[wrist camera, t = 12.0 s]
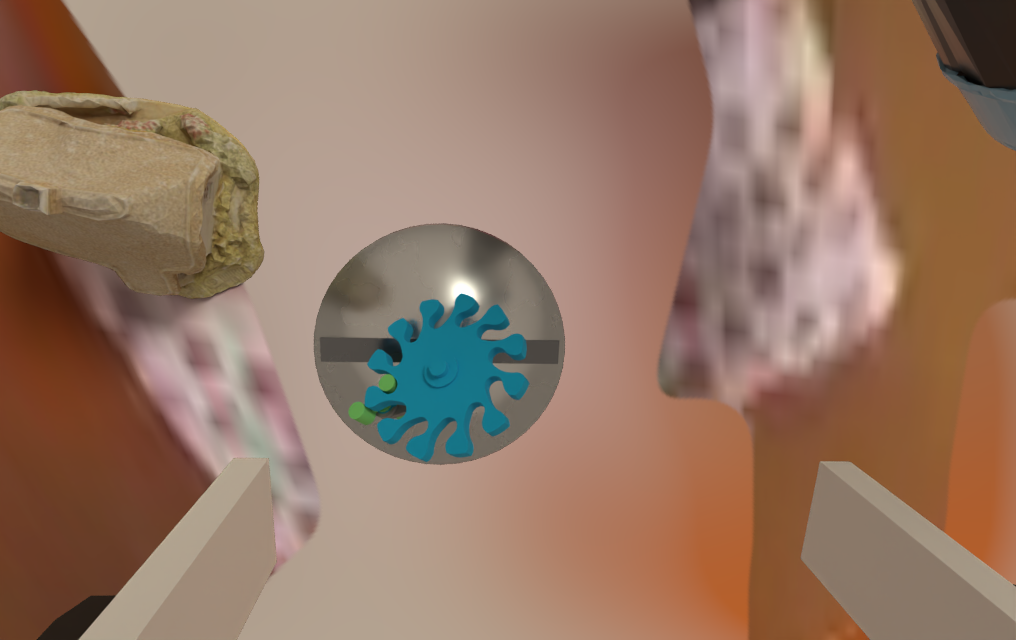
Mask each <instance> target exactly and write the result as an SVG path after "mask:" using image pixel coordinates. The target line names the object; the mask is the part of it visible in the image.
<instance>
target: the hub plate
mask: <svg viewBox="0 0 1016 640" xmlns="http://www.w3.org/2000/svg"><path fill="white" fill-rule="evenodd" d="M461 293H463V294H467V295H469V296H471V297H473V298H474V299H475V300H476V301H477V303H478V304H479V305H480V308H479V310H478V312H477V313H476V314H475V315H473V316H471V317H468V318H466V319H464V320H463V321H462V322H461V324H460V327H466V326H468V325H471V324H473V323H475V322H477V321H478V320H480V319H481V318H482V317H483V316H484V315H485V314H486V312H487V310H488V309H489V308H490V307H492V306H493V305H497V304H498V305H499V306H500V307H501V309H502V310H503V312H504V313H505V315H506V316H507V318H508V320H509V323H510V325H509V326H508V327H507V328H506V329H504V330H487V331H485V332H484V333H483V335H482V338H481V340H486V341H498V340H502V339H505V338H507V337H509V336H510V335H512V334H521V335H523V337H524V338H525V340H526V345H527V353H526V357H525V359H523V360H514V359H512V358H511V357H510V356H509V355H507V354H506V353H498V354H496V355H495V356H494V358H493V365H494V366H495V367H496V368H498V369H500V370H502V371H505V372H510V373H514V372H518V373H521V374H523V375H524V376H525V377H526V379H527V380H528V381H529V383H530V384H529V386H528V388H527V390H526V392H525V394H524V395H523V397H522V398H521V399H520V400H515V399H513V398H511V397H510V396H509V395H508V394H507V392H506V391H505V390H504V387H503V383H502V381H496V382H494V383H493V384H492V385H491V386H490V390H489V391H490V396H491V400H492V403H493V405H494V406H495V408H496V409H497V410H499V411H501V412H502V413H503V414H504V415H505V416H506V417H507V418H508V420H509V422H510V427H508V428H507V429H506V430H505V431H503V432H502V433H500V434H498V435H496V436H493V437H492V436H491V435H489V434H488V433H487V432H486V431H485V430H484V429H483V427H482V419H483V416H484V412H485V408H484V407H483V406H480V407H477V408H476V409H475V410H474V411H473V413H472V417H471V420H470V425H469V433H470V438H471V441H472V443H473V446H474V451H473V454H472V456H469V457H461V458H460V457H454V456H451V455H450V454H448V453H446V449H445V446H446V442H447V440H448V439H449V437H450V436H451V435H452V434H453V433H454V432H455V431H456V428H457V422H456V421H453V422H450V423H449V424H448V425H447V426H446V427H445V428H444V429H443V430H442V432H441V433H440V434H439V436H438V438H437V440H436V443H435V447H434V453H433V456H432V458H431V459H430V460H429V461H428V462H425V461H423V460H420V459H418V458H416V457H414V456H413V455H411V454H410V453H409V452H408V451H407V450H406V446H407V443H408V442H409V441H410V439H412V438H413V437H416V436H419V435H421V434H423V433H425V431H426V430H427V428H428V421H424V422H421V423H418V424H416V425H414V426H412V427H411V428H409V429H408V430H407V431H406V432H405V433H404V434H403V436H402V437H401V439H400V440H399V441H398V442H397V443H395V444H388V443H386V442H384V441H383V440H382V438H381V436H380V434H379V432H378V428H377V424H378V423H379V422H380V421H381V420H382V418H380V417H378V416H376V417H375V419H374V421H373V422H372V423H371V424H369V425H364V424H362V423H360V422H358V421H356V420H354V419H352V418H351V417H350V416H349V413H348V411H349V408H350V406H351V405H352V404H353V403H355V402H361V403H363V404H365V394H366V391H367V388H368V387H370V386H377V387H379V381H380V379H381V378H382V377H383V376H384V375H386V374H378V373H376V372H375V371H373V370H372V369H370V368H369V367H368V365H367V363H368V362H369V360H370V358H371V356H372V355H373V354H374V352H375V351H376V350H377V349H381V350H383V351H384V352H386V353H387V354H388V355H390V356H391V358H392V360H393V366H396V365H398V364H399V363H400V362H401V361H402V358H403V355H402V349H401V346H400V344H399V342H398V341H397V340H396V339H394V338H393V337H392V336H391V335H390V334H389V332H388V327H389V326H390V325H391V324H392V323H394V322H395V321H397V320H399V319H401V318H404V319H405V320H406V321H407V322H409V323H410V324H411V325H412V327H413V334H412V336H411V339H410V343H412V342H414V341H416V340H417V339H418V337H419V335H420V332H421V329H422V324H423V319H422V314H421V312H420V309H419V308H420V304H421V302H422V301H426V300H431V299H436V300H439V302H440V303H441V304H442V305H443V306H444V314H443V316H442V317H441V318H440V319H439V320H438V321H437V322H436V324H435V326H434V329H436V328H439V327H441V326H442V325H443V324H444V323H445V322H446V321H447V319H448V318H449V317H450V315H451V314H452V312H453V309H454V305H455V299H456V298H457V296H458V295H459V294H461ZM564 354H565V336H564V329H563V322H562V318H561V315H560V311H559V307H558V305H557V302H556V300H555V298H554V295H553V293H552V291H551V289H550V288H549V286H548V285H547V283H546V281H545V280H544V278H543V277H542V276H541V274H540V273H539V272H538V271H537V269H536V268H535V267H534V266H533V265H532V264H531V263H530V262H529V261H528V260H527V259H526V258H525V257H524V256H523V255H522V254H521V253H520V252H519V251H517V250H516V249H514V248H513V247H512V246H510V245H509V244H508V243H506V242H504V241H502V240H501V239H499V238H497V237H495V236H493V235H491V234H488V233H486V232H483V231H480V230H478V229H474V228H470V227H466V226H462V225H453V224H425V225H419V226H413V227H409V228H405V229H402V230H399V231H396V232H393V233H391V234H389V235H387V236H384V237H382V238H380V239H378V240H377V241H375V242H374V243H372V244H370V245H369V246H367V247H366V248H364V249H363V250H361V251H360V252H359V253H358V254H357V255H355V256H354V257H353V258H352V259H351V260H350V261H349V262H348V263H347V264H346V265H345V266H344V267H343V268H342V269H341V271H340V272H339V273H338V274H337V276H336V277H335V279H334V280H333V282H332V283H331V285H330V286H329V288H328V290H327V292H326V294H325V296H324V298H323V300H322V303H321V306H320V309H319V312H318V315H317V320H316V326H315V332H314V355H315V364H316V369H317V372H318V376H319V380H320V383H321V385H322V387H323V390H324V392H325V395H326V397H327V399H328V400H329V402H330V404H331V405H332V407H333V409H334V410H335V411H336V413H337V414H338V415H339V417H340V418H341V419H342V421H343V422H344V423H345V424H346V425H347V426H348V427H349V428H350V429H351V430H352V431H353V432H354V433H355V434H357V435H358V436H359V437H361V438H362V439H363V440H364V441H366V442H367V443H369V444H370V445H372V446H374V447H376V448H377V449H379V450H381V451H383V452H385V453H388V454H390V455H392V456H394V457H398V458H401V459H404V460H408V461H412V462H418V463H424V464H440V465H441V464H456V463H461V462H467V461H472V460H475V459H478V458H482V457H485V456H487V455H490V454H492V453H494V452H496V451H498V450H501V449H502V448H504V447H505V446H507V445H509V444H511V443H512V442H513V441H515V440H516V439H517V438H519V437H520V436H521V435H522V434H524V433H525V432H526V431H527V430H528V429H529V428H530V427H531V426H532V425H533V424H534V423H535V422H536V421H537V420H538V418H539V417H540V416H541V414H542V413H543V412H544V410H545V409H546V407H547V405H548V404H549V402H550V400H551V399H552V397H553V395H554V392H555V390H556V388H557V385H558V383H559V379H560V375H561V372H562V368H563V362H564ZM395 419H397V418H395Z"/></svg>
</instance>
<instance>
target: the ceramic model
mask: <svg viewBox="0 0 1016 640" xmlns="http://www.w3.org/2000/svg"><path fill="white" fill-rule="evenodd" d="M258 193H259V173H258V169H257V166H256V164H255V160H254V159H253V158H252V157H251V156H250V154H249V152H248V151H247V149H246V148H245V147H244V145H243V144H242V143H241V142H239V140H238V139H237V138H236V137H234V136H233V135H232V134H231V133H229V132H228V131H227V130H226V129H225V128H224V127H223V126H221V125H220V124H218V122H216V121H215V120H213V119H212V118H211V117H209V116H207V115H206V114H204V113H203V112H201V111H200V110H198V109H196V108H193V109H192V108H188V107H185V106H181V105H177V104H170V103H165V102H159V101H153V100H147V99H140V98H126V97H112V96H108V95H100V94H90V93H68V92H67V93H59V94H55V93H48V92H45V91H43V92H40V91H36V90H34V91H17V92H15V93H12V94H8V95H6V96H4V97H2V98H1V99H0V231H1V232H3V233H4V234H6V235H8V236H10V237H12V238H15V239H17V240H20V241H22V242H25V243H28V244H31V245H34V246H37V247H40V248H43V249H46V250H49V251H52V252H56V253H59V254H62V255H65V256H69V257H74V258H78V259H82V260H85V261H89V262H93V263H96V264H99V265H102V266H105V267H107V268H110V269H112V270H114V271H115V272H116V273H117V275H118V276H119V277H120V278H121V279H122V280H123V282H124V283H125V285H126V286H127V287H128V288H129V289H131V290H134V291H136V292H138V293H146V294H153V295H159V296H162V295H180V296H183V297H187V298H190V299H194V298H206V297H211V296H213V295H214V294H216V293H217V292H222V291H224V290H226V289H228V288H229V287H234V286H237V285H239V284H240V283H244V282H245V281H246V280H248V279H249V278H251V277H252V275H253V274H254V273H255V271H256V270H257V269H258V268H259V267H260V265H261V263H262V261H263V258H264V250H263V247H262V244H261V242H260V239H259V230H258V216H257V214H258V213H257V205H258V203H257V201H258Z"/></svg>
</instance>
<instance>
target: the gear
mask: <svg viewBox="0 0 1016 640" xmlns="http://www.w3.org/2000/svg"><path fill="white" fill-rule="evenodd" d="M479 308H480V305H479V304H478V303H477V301H476V300H475V299H474V298H473V297H471V296H469V295H467V294H463V293H461V294H459V295H458V296H457V298H456V299H455V305H454V309H453V312H452V314H451V315H450V317H449V318H448V319H447V321H446V322H445V323H444V324H443V325H442V326H441V327H439V328H436V329H434V326H435V324H436V322H437V321H438V320H439V319H440V318H441V317H442V316H443V314H444V306H443V305H442V304H441V303H440V302H439V300H436V299H431V300H426V301H422V302H421V304H420V308H419V309H420V312H421V314H422V319H423V324H422V329H421V332H420V335H419V337H418V339H417V340H416V341H414V342H412V343H410V339H411V336H412V334H413V327H412V325H411V324H410V323H409V322H407V321H406V320H405V319H404V318H401V319H399V320H397V321H395V322H394V323H392V324H391V325H390V326H389V327H388V332H389V334H390V335H391V336H392V337H393V338H394V339H396V340H397V341H398V342H399V344H400V346H401V349H402V355H403V358H402V361H401V362H400V363H399V364H398V365H396V366H393V360H392V358H391V356H390V355H388V354H387V353H386V352H384V351H383V350H381V349H377V350H376V351H375V352H374V354H373V355H372V356H371V358H370V360H369V362H368V363H367V365H368V367H369V368H370V369H372V370H373V371H375V372H376V373H378V374H386V375H384V376H383V377H382V378H381V379H380V381H379V387H377V386H370V387H368V388H367V391H366V394H365V404H363V403H361V402H355V403H353V404H352V405H351V406H350V408H349V411H348V413H349V416H350V417H351V418H352V419H354V420H356V421H358V422H360V423H362V424H364V425H369V424H371V423H372V422H373V421H374V419H375V417H376V416H378V417H380V418H382V420H381V421H380V422H379V423H378V424H377V428H378V432H379V434H380V436H381V438H382V440H383V441H384V442H386V443H388V444H395V443H397V442H398V441H399V440H400V439H401V437H402V436H403V434H404V433H405V432H406V431H407V430H408V429H409V428H411V427H412V426H414V425H416V424H418V423H421V422H424V421H428V428H427V430H426V431H425V433H423V434H421V435H419V436H416V437H413V438H412V439H410V441H409V442H408V443H407V446H406V450H407V451H408V452H409V453H410V454H411V455H413V456H414V457H416V458H418V459H420V460H423V461H425V462H428V461H429V460H430V459H431V458H432V456H433V453H434V447H435V443H436V440H437V438H438V436H439V434H440V433H441V432H442V430H443V429H444V428H445V427H446V426H447V425H448V424H449V423H450V422H453V421H456V422H457V428H456V431H455V432H454V433H453V434H452V435H451V436H450V437H449V439H448V440H447V442H446V446H445V449H446V453H448V454H450V455H451V456H454V457H460V458H461V457H469V456H472V454H473V451H474V446H473V443H472V441H471V438H470V433H469V425H470V420H471V417H472V413H473V411H474V410H475V409H476V408H477V407H480V406H483V407H484V408H485V412H484V416H483V419H482V427H483V429H484V430H485V431H486V432H487V433H488V434H489V435H491V436H492V437H493V436H496V435H498V434H500V433H502V432H503V431H505V430H506V429H507V428H508V427H510V422H509V420H508V418H507V417H506V416H505V415H504V414H503V413H502V412H501V411H499V410H497V409H496V408H495V406H494V405H493V403H492V400H491V396H490V391H489V390H490V386H491V385H492V384H493V383H494V382H496V381H502V383H503V387H504V390H505V391H506V392H507V394H508V395H509V396H510V397H511V398H513V399H515V400H520V399H521V398H522V397H523V395H524V394H525V392H526V390H527V388H528V386H529V384H530V383H529V381H528V380H527V379H526V377H525V376H524V375H523V374H521V373H518V372H514V373H510V372H505V371H502V370H500V369H498V368H496V367H495V366H494V365H493V358H494V356H495V355H496V354H498V353H506V354H507V355H509V356H510V357H511V358H512V359H514V360H523V359H525V357H526V353H527V345H526V340H525V338H524V337H523V335H521V334H512V335H510V336H509V337H507V338H505V339H502V340H498V341H486V340H481V338H482V335H483V333H484V332H485V331H487V330H504V329H506V328H507V327H508V326H509V325H510V323H509V320H508V318H507V316H506V315H505V313H504V312H503V310H502V309H501V307H500V306H499V305H498V304H497V305H493V306H492V307H490V308H489V309H488V310H487V312H486V314H485V315H484V316H483V317H482V318H481V319H480V320H478V321H477V322H475V323H473V324H471V325H468V326H466V327H460V324H461V322H462V321H463V320H464V319H466V318H468V317H471V316H473V315H475V314H476V313H477V312H478V310H479ZM395 418H397V419H395Z"/></svg>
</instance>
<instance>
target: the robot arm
mask: <svg viewBox="0 0 1016 640" xmlns="http://www.w3.org/2000/svg"><path fill="white" fill-rule="evenodd" d="M912 2H913V4H914V6H915V7H916V9H917V11H918V13H919V15H920V17H921V19H922V21H923V23H924V25H925V27H926V29H927V31H928V33H929V36H930V38H931V40H932V42H933V44H934V46H935V48H936V50H937V52H938V53H937V54H936V57H937V61H938V65H939V66H940V69H941V70H942V73H943V75H944V76H945V77H946V78H947V79H948V80H949V81H950V82H951V83H953V84H954V85H955V86H957V87H958V88H959V90H960V91H961V93H962V94H963V96H964V97H965V99H966V100H967V102H968V103H969V105H970V107H971V108H972V110H973V112H974V113H975V115H976V117H977V118H978V120H979V122H980V123H981V125H982V126H983V128H984V129H985V130H986V131H987V133H989V134H990V135H991V136H992V137H993V138H994V139H995V140H997V141H998V142H1000V143H1001V144H1003V145H1004V146H1006V147H1008V148H1010V149H1012V150H1015V151H1016V0H912ZM801 559H802V561H803V562H804V563H805V564H806V565H807V566H808V568H809V569H810V570H811V571H812V572H813V573H814V575H815V576H816V577H817V578H818V579H819V580H820V582H821V583H822V584H823V585H824V586H825V587H826V589H827V590H828V591H829V592H830V593H831V594H832V596H833V597H834V598H835V599H836V600H837V601H838V603H839V604H840V605H841V606H842V607H843V608H844V610H845V611H846V612H847V613H848V614H849V615H850V616H851V618H852V619H853V620H854V621H855V622H856V623H857V625H858V626H859V627H860V628H861V629H862V630H863V632H864V633H865V634H866V635H867V636H868V637H869V639H870V640H1016V585H1014V584H1011V583H1010V582H1009V581H1008V580H1006V579H1005V578H1004V577H1002V576H1001V575H1000V574H998V573H997V572H995V571H994V570H993V569H992V568H990V567H989V566H988V565H986V564H985V563H983V562H982V561H981V560H979V559H978V558H977V557H975V556H974V555H973V554H972V553H970V552H969V551H968V550H966V549H965V548H964V547H962V546H961V545H960V544H958V543H957V542H956V541H954V540H953V539H952V538H950V537H949V536H948V535H947V534H945V533H944V532H943V531H941V530H940V529H939V528H937V527H936V526H935V525H933V524H932V523H931V522H929V521H928V520H927V519H925V518H924V517H923V516H921V515H920V514H919V513H917V512H916V511H915V510H913V509H912V508H911V507H909V506H908V505H907V504H905V503H904V502H903V501H901V500H900V499H899V498H897V497H896V496H895V495H893V494H892V493H891V492H890V491H888V490H887V489H886V488H884V487H883V486H882V485H880V484H879V483H878V482H876V481H875V480H874V479H872V478H871V477H870V476H868V475H867V474H866V473H864V472H863V471H862V470H860V469H859V468H858V467H856V466H855V465H854V464H852V463H851V462H820V465H819V470H818V475H817V480H816V484H815V489H814V494H813V499H812V504H811V509H810V514H809V519H808V524H807V529H806V534H805V539H804V544H803V549H802V554H801ZM276 562H277V560H276V546H275V533H274V520H273V507H272V494H271V481H270V468H269V458H234V459H233V460H232V461H231V462H230V463H229V465H228V466H227V467H226V468H225V469H224V470H223V472H222V473H221V474H220V475H219V476H218V477H217V479H216V480H215V481H214V482H213V483H212V484H211V486H210V487H209V488H208V489H207V490H206V491H205V493H204V494H203V495H202V496H201V497H200V498H199V500H198V501H197V502H196V503H195V504H194V505H193V507H192V508H191V509H190V510H189V511H188V512H187V514H186V515H185V516H184V517H183V518H182V519H181V521H180V522H179V523H178V524H177V525H176V526H175V528H174V529H173V530H172V531H171V532H170V533H169V535H168V536H167V537H166V538H165V539H164V540H163V542H162V543H161V544H160V545H159V546H158V547H157V549H156V550H155V551H154V552H153V553H152V554H151V556H150V557H149V558H148V559H147V560H146V561H145V563H144V564H143V565H142V566H141V567H140V568H139V570H138V571H137V572H136V573H135V574H134V575H133V577H132V578H131V579H130V580H129V581H128V582H127V584H126V585H125V586H124V587H123V588H122V590H121V591H120V592H119V593H118V594H117V595H116V596H90V597H88V598H87V599H85V600H84V601H82V602H81V603H80V604H78V605H77V606H75V607H74V608H72V609H71V610H69V611H68V612H66V613H65V614H63V615H62V616H60V617H59V618H57V619H56V620H55V621H54V622H53V623H52V624H51V625H50V626H49V627H48V628H47V629H46V630H45V631H44V632H43V634H42V635H41V636H40V637H39V638H38V639H37V640H237V638H238V636H239V634H240V632H241V630H242V628H243V626H244V624H245V623H246V620H247V619H248V617H249V615H250V613H251V611H252V609H253V607H254V605H255V603H256V601H257V599H258V597H259V595H260V593H261V591H262V589H263V587H264V586H265V584H266V582H267V580H268V578H269V576H270V574H271V572H272V570H273V568H274V566H275V564H276Z"/></svg>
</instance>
